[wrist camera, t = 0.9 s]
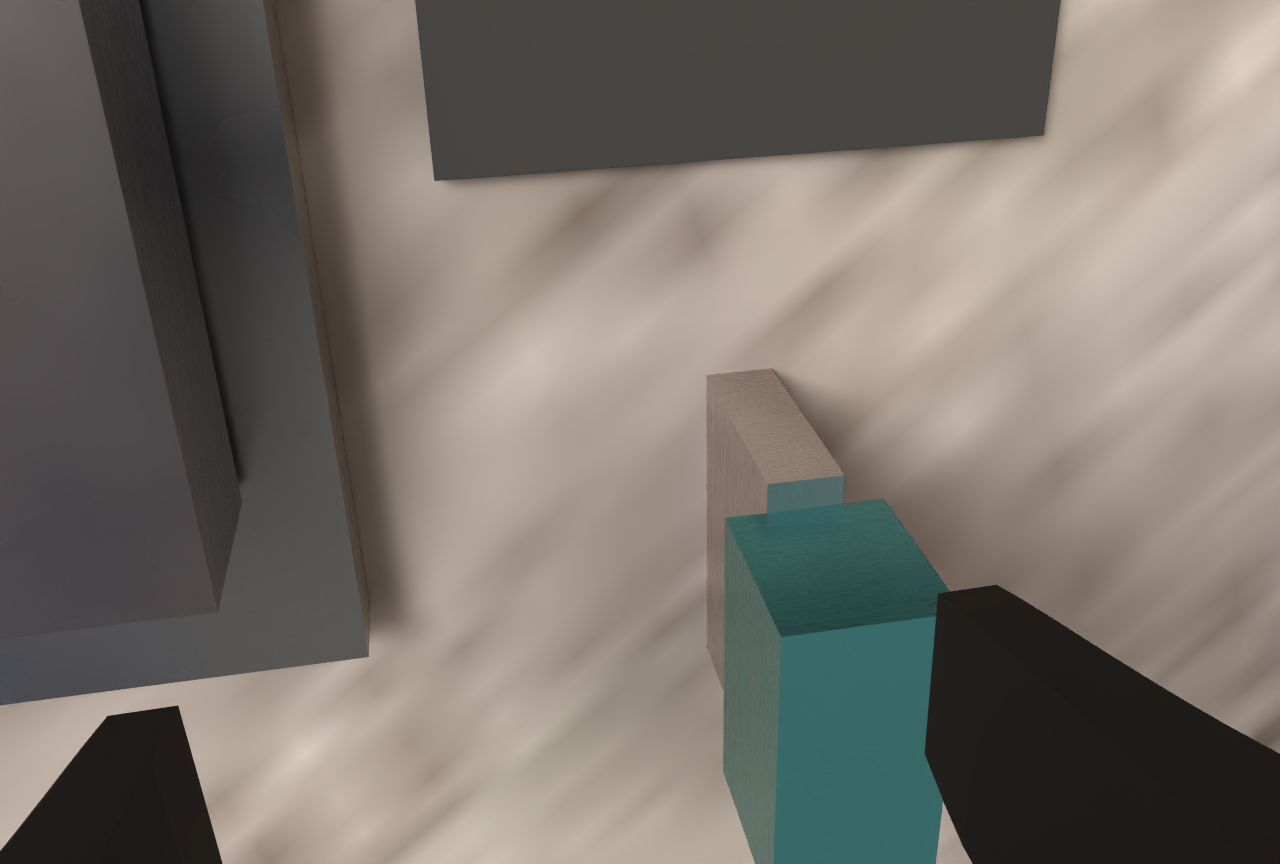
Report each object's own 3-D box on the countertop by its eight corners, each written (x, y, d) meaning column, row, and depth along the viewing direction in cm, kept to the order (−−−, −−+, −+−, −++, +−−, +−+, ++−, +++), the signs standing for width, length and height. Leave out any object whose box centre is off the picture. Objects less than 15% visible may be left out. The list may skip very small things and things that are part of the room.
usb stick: (796, 635, 25) (930, 908, 18) (675, 651, 24) (770, 936, 18) (807, 364, 22) (969, 580, 16) (671, 378, 21) (782, 605, 15)
